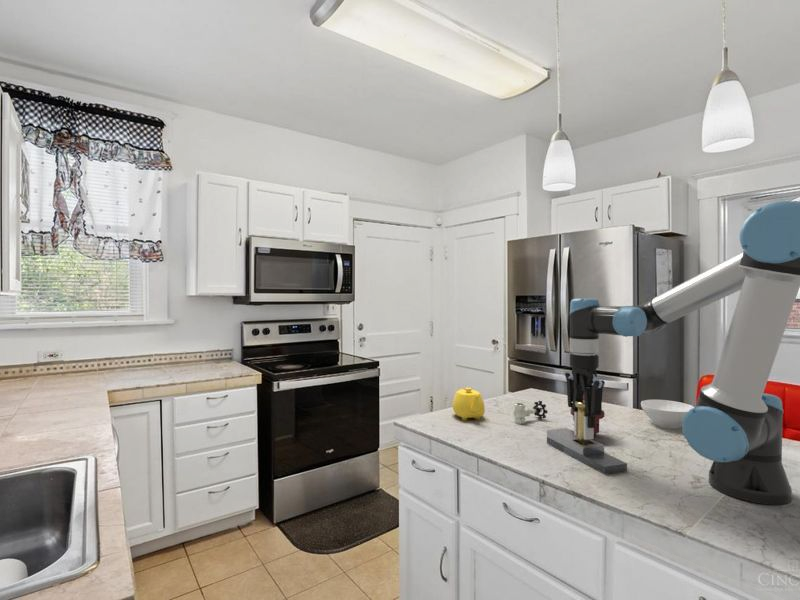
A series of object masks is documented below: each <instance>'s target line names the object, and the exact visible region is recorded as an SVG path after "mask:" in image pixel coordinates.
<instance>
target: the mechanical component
mask: <svg viewBox="0 0 800 600" xmlns="http://www.w3.org/2000/svg"><path fill="white" fill-rule="evenodd" d="M583 400H584V395H583ZM590 412H591V411H590ZM570 415H572V416H573V410H572V408H571V407H570ZM604 418H605V411H604V410H603V409H602V407H601V415H597V416H595V427H594V436H596V435H597V434H599V433H600V420H602V419H604Z"/></svg>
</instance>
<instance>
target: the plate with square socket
mask: <svg viewBox="0 0 800 600" xmlns="http://www.w3.org/2000/svg"><path fill="white" fill-rule="evenodd" d="M546 444H548V445H550V446H551V447H553V448H555V449H557V450H559V451H560V452H562V453H564V454H566V455H568V456H570V457H572V458H574V459H575V460H577V461H578V462H581V463H583V464H585V465H586V466H588V467H590V468H592V469H594V470H596V471H597V472H599V473H601V474H602V475H611V474H616V473H617V474H618V473H623V472H628V463H627V462H625V461H623V460H621V459H619V458H617V457H615V456H613V455H610V454H608V453H606V452H605V444H602V443H600V442H598V441H596V440H594V439H590V444H589V445H581V444H579V443H578V435H574V430H572V429H569V428H568V427H563V428H554V429H547V430H546Z"/></svg>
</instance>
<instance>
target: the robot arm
mask: <svg viewBox="0 0 800 600" xmlns="http://www.w3.org/2000/svg"><path fill="white" fill-rule="evenodd" d="M739 243H740V247H741V248H742V250H743V251H741V252H739V253H736V254H735V255H733V256H732V257H729V258H727V259H725V260H724V261H722V262H719V263H718V264H716V265H714V266H713V267H710V268H709V269H706V270H704V271H702V272H700V273H699V274H697V275H696V276H693V277H692V278H690V279H687V280H685V281H684V282H682V283H680V284H678V285H676V286H674V287H672V288H670V289H669V290H667V291H665V292H663V293H661V294H659V295H657V296H655V297H653V298H652V299H650V300H648V301H646V302H643V303H642V304H639V305H624V306H623V305H622V306H618V305H617V306H616V305H615V306H614V305H611V306H609V305H608V306H606V305H600V301H599V298H587V297H586V298H582V297H581V298H573V299H571V300H570V303H569V305H570V306H569V314H568V315H569V331H570V332H569V333H570V334H569V348H568V349H569V352H570V354H569V366H570V368H572V369H571V371H570V372H566V373H564V375H565V380H566V390H567V391H566V393H567V394H566V395H567V406H568V408H570V409H571V408H572V410H573V415H572V417H573V425H574V428H573V431H574V435H578V407H576V406H575V401H581V400H583V396H584V400H585V410H586V414H584V439H585V440H587V439H592V440H594V436H595V435H594V427H595V416H597V415H601V407H602V406H603V405H602V403H603V389H604V387H605V384H606V383H605V380H603V379H602V380H601V379H600V378H598V374H597V369H599V366H600V365H599V363H600V361H599V360H600V358H599V357H600V355H598V353H599V352H600V351H599V350H600V349H599V344H600V343H599V342H600V341H599V340H600V336H599V335H600V334H601V335H612V336H613V335H614V336H620V337H621V336H622V337H625V338H627V337H639V336H641V335H642V334H646V333H649V334H650V333H654V332H658V331H660V330H663V329H664V328H665V327H666V326H667V325H668V324H670V323H672V322H674V321H677V320H678V319H680V318H683V317H684V316H687V315H690V314H691V313H694V312H695V311H698V310H701V309H702V308H704V307H707V306H710V304H713V303H715V302H717V301H720V300H723V299H724V298H725V297H728V296H730V295H734V294H735V293H737V292H739V295H738V299H737V302H736V306H735V308H734V311H733V315H732V318H731V320H730V324H729V327H728V331H727V334H726V337H725V340H724V343H723V346H722V350H721V353H720V356H719V359H718V363H717V365H716V369H715V372H714V376H713V379H712V382H711V383H709V384H706V385H703V386H702V387H701V388H700V392H699V394H698V397H697V399H696V400H697V401H696V404H695V407H694V408H693V409H690V410H689V412H688V413H687V414H686V415H685V416H684V418H683V421H682V426H681V430H682V434H683V438H684V439H685V440H686V441H687V443H688V445H689V446H690V447H691V449H692V450H693V451H695V452H696V453H697V454H699V456H701V457H703V458H704V459H708V460H709V461H712V464H711V466H710V469H709V471H708V483H709V484H710V486H711V487H712V488H714V489H715V490H717V491H718V492H721V493H722V494H725V495H727V496H729V497H733V498H736V499H739V500H743V501H746V502H751V503H756V504H762V505H771V506H772V505H773V506H774V505H775V506H777V505H785V504H786V505H787V504H789V503H791V502H792V501H793V500H792V499H793V498H792V497H793V496H792V495H793V494H792V493H793V491H792V486H791V485H790V482H789V479H788V476H787V474H786V471H785V468H784V465H783V460H782V457H783V417H784V416H783V414H784V409H783V401H782V399H781V397H779V396H777V395H774V394H770V393H764V392H765V389H766V386H767V383H768V380H769V377H770V375H771V372H772V369H773V366H774V363H775V360H776V358H777V354H778V352H779V348H780V347H781V346H780V345H781V344H782V343H781V342H782V339H783V337H784V333H785V331H786V329H787V325H788V322H789V319H790V317H791V314H792V310H793V307H794V305H795V302H796V300H797V299H796V298H797V296H798V294H799V290H800V201H797V200H794V201H793V200H781V201H780V200H779V201H775V202H771V203H768V204H766V205H763V206H761V207H759V208H758V209H756V210H755V211H753V212H752V213H751V214H749V216H748V217H747V218H746V219H745V220H744V221H743V224H742V226H741V228H740V230H739ZM590 411H591V412H590Z"/></svg>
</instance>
